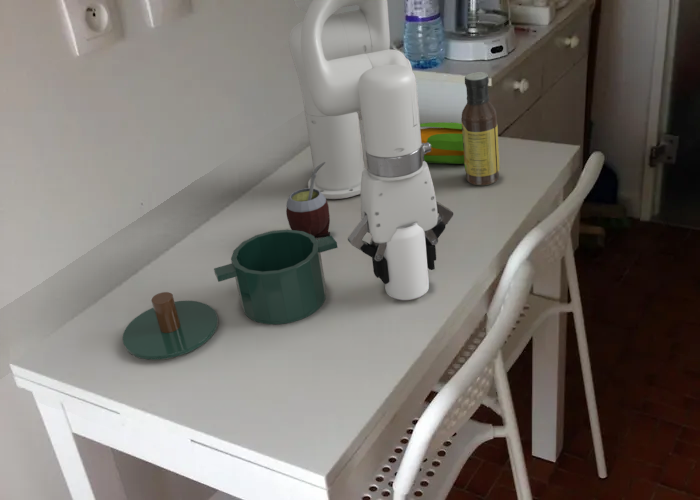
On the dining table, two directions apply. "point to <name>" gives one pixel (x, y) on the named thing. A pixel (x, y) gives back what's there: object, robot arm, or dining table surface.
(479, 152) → the sauce bottle
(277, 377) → the dining table surface
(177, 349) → the pot lid
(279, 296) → the pot
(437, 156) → the corn
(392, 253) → the can
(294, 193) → the mate gourd
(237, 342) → the dining table surface
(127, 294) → the dining table surface
